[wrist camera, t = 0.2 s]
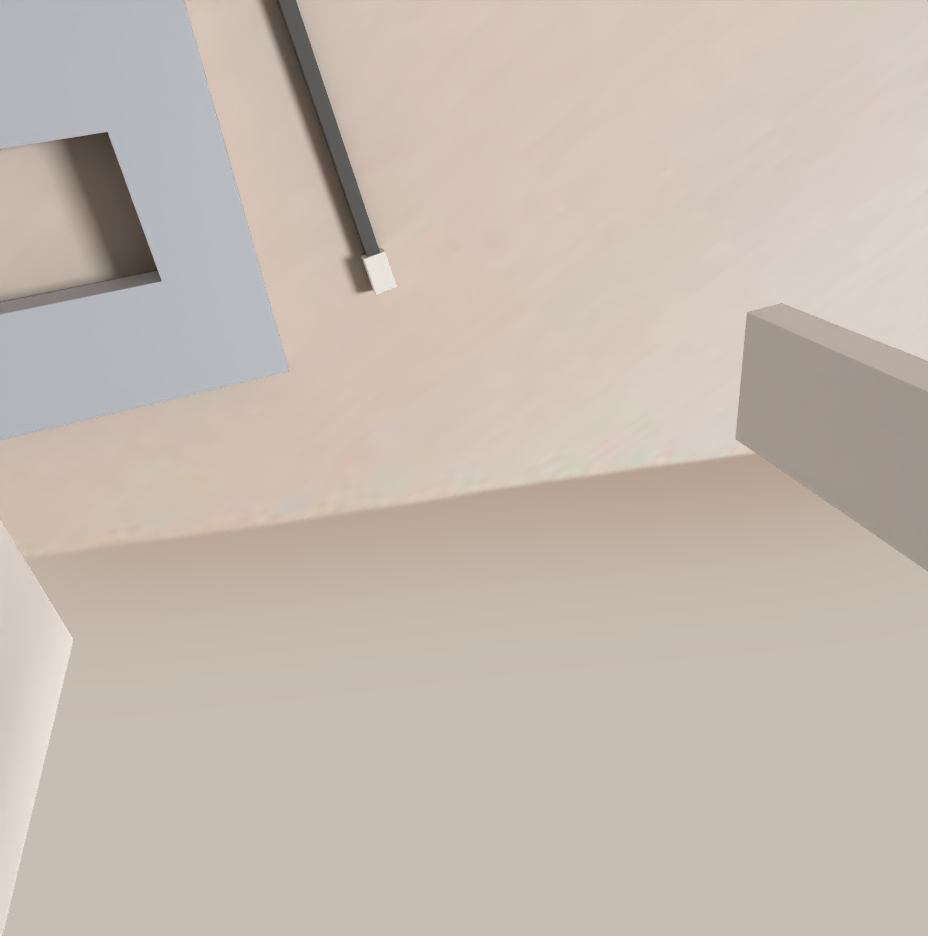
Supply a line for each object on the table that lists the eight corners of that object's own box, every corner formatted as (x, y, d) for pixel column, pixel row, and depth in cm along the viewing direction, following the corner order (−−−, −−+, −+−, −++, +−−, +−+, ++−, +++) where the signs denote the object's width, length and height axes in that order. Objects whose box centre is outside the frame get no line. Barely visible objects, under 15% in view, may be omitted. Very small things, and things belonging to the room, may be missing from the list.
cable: (239, -90, 29) (240, -95, 28) (267, -98, 29) (268, -103, 28) (372, 290, 38) (376, 294, 37) (393, 282, 38) (396, 286, 38)
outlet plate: (-373, -52, 24) (-432, -65, 22) (154, -103, 28) (149, -119, 26) (-70, 438, 35) (-89, 463, 32) (284, 355, 38) (289, 372, 36)
